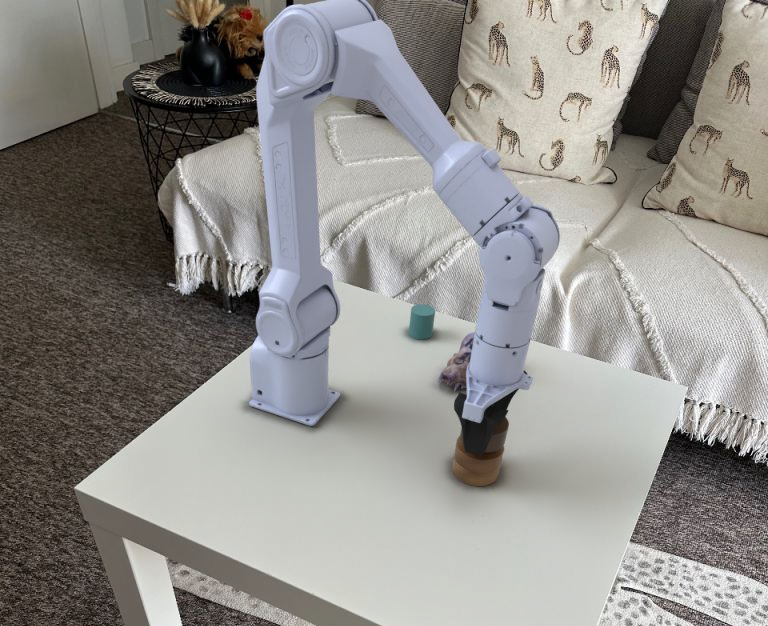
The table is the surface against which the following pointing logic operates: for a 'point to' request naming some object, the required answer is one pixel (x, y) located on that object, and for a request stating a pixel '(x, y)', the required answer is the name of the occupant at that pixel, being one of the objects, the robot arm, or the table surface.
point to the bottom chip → (474, 476)
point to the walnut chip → (496, 436)
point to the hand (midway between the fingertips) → (481, 439)
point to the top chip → (477, 459)
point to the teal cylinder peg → (421, 321)
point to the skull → (459, 364)
